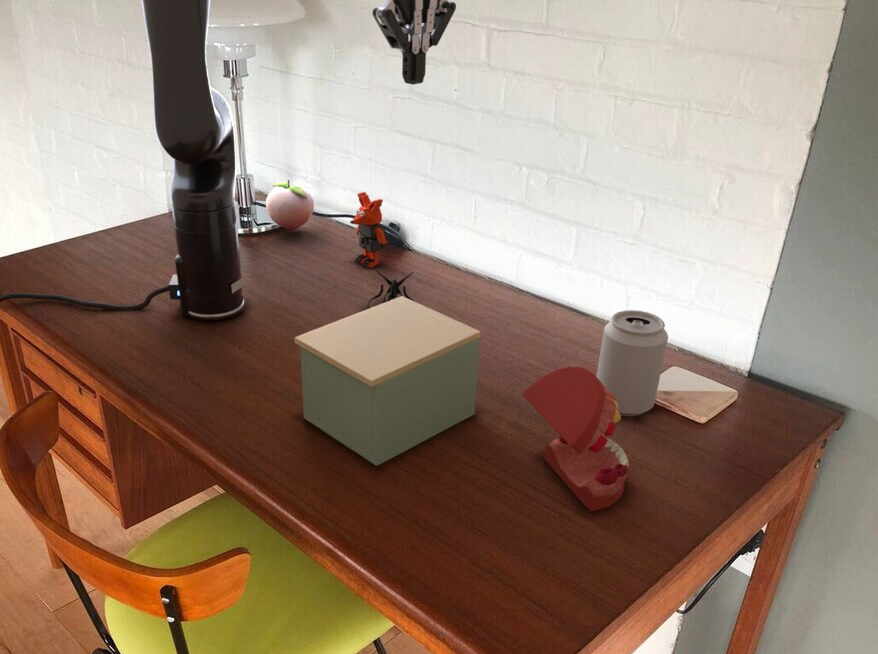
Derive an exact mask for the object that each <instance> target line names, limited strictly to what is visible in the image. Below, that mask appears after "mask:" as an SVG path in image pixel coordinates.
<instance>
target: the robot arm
mask: <svg viewBox="0 0 878 654" xmlns="http://www.w3.org/2000/svg"><path fill="white" fill-rule="evenodd" d="M140 2H141V7H142V14H143V20H144V25H145V31H146V38H147V42H148V47H149V54H150V62H151V63H150V64H151V76H152V77H151V79H152V96H153V97H152V98H153V99H152V100H153V121H154V122H153V123H154V128H155V129H154V130H155V134H156V138H157V139H158V140H157V141H158V142H159V144H160V146H161V148H162V149H163V151H164V152H165V154H167V155H168V157H170V158H171V159H173V171H172V178H171V182H170V185H169V195H170V203H171V209H172V211H171V212H172V220H173V225H174V235H175V242H176V252H177V254H176V256H175V260H174V263H175V270H176V274H172V276H171V278H170V281H169V283H168V285H165V286H163V287H162V286H161V287H159V288H157V289H155V290H153V291H151V292H150V293H148V294H147V296H146V297H145V300H144V301H143V302H140V303H137V304H130V305H120V304H112V303H106V302H105V303H104V302H97V301H87V300H82V299H77V298H74V297H72V296H71V297H70V296H67V295H63V294H62V295H61V294H51V293H50V294H49V293H48V294H47V293H44V294H43V293H32V292H12V293H11V292H10V293H6V294H3V295H0V303H2V302H4V301H7V300H13V299H31V300H32V299H34V300H47V301H49V300H50V301H51V300H52V301H61V302H66V303H70V304H74V305H77V306H81V307H87V308H94V309H95V308H96V309H102V310H103V309H104V310H109V311H132V310H134V311H135V310H141V309H143V308H146V307H147V306H149V305H150V303H151V302H152V301H153V298H155V297H156V296H159V295H161V294H164V293H167V292H169V299H170V300H171V301H173V300H177V301H179V302H180V310H181V317H182V318H191V319H193V320H197V321H204V322H215V321H223V320H228V319H230V318H233V317H236V316H238V315H239V314H241V313H242V312H243V311H244V309H245V298H244V292H243V291H244V290H243V287H244V285H243V284H244V283H243V276H242V267H241V257H240V256H241V255H240V244H239V231H238V221H237V219H238V218H237V208H236V207H237V206H236V195H235V187H236V186H235V185H236V181H237V179H236V178H237V163H236V162H237V161H236V159H237V158H236V143H235V128H234V127H235V126H234V120H233V115H232V111H231V108H230V105H229V104H228V102H227V100H226V99H225V98H224V97H223V96H222V95H221V94H220V92H219V91H217V90H215V89H214V88H212V87H211V85H210V80H209V73H208V66H207V65H208V64H207V38H208V37H207V36H208V27H209V18H210V9H211V8H210V7H211V0H140ZM456 10H457V5H456V2H454V1H449V0H385V1H384V3H383V4H382V5H381V6H380V7H374V8H373V10H372V13H371V14H372V17H373V19H374V20H375V21H374V22H375V23H376V24H377V26H378V28H379V30H380V32H381V34H382V35H383V36H384V39H385V40H386V41H387V44H388V45H389V47H390V48H391V49H394V50H395V49H396V50H398V51H400V52H401V55H402V64H401V67H402V69H401V75H402V79H403V82H404V83H405V84H409V85H419V84H422V83H424V78H425V76H426V67H427V66H426V64H427V63H426V62H427V53H428V51H429V49H430V48H431V47H436V46H438V45H439V43H440V42H441V39H442V37H443V35H444V33H445V31H446V29H447V27H448V25H449V23H450V21H451V19H452V17H453V16H454V14H455V11H456Z"/></svg>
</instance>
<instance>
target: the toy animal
mask: <svg viewBox="0 0 878 654" xmlns="http://www.w3.org/2000/svg"><path fill="white" fill-rule="evenodd" d="M357 198H358V201H359V204H360V207H359V208H358V209H357V210H356V214H355V217H353V218H352V220H350V222H349V223H350V224H351V225H356V226H357V227H356V228H355V232H356V234H357V236H358V246H359V247H360V248H362V249H363V253H362V254H358V255H357V257H355V258H356V259H354V263H356V264H358V265H359V264H361V267H363V268H374V267H375V266H377V265H379V264H380V257H379V252H381V251H382V250H383V248H384V247H386V244H387V239H386V237H385V234H384V225H383V224H382V221H383V214H382V210H381V207H382V205H383V202H384V200H383V198H378V199H374V200H371V198H370V196H369V194H367V193H366V191H361V192H358V193H357Z"/></svg>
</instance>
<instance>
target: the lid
mask: <svg viewBox="0 0 878 654" xmlns="http://www.w3.org/2000/svg"><path fill="white" fill-rule="evenodd" d="M414 301H415V300H414ZM414 301H412V300H410V299H408V298H406V297H405V296H403V295H402V296H401V295H400V296H397V298H395V299H391V300H390V301H388V300H387V301H385V302H384V303H383V302H382V303H379V304H377V305H374V306H372V307H369V308H370V309H369V308H368V309H364V310H362V311H359V312H356V313H354V314H351V315H349V316H347V317H344V318H341V319H339V320H336V321H334V322H331V323H328V324H325V325H323V326H320V327H318V328H316V329H312V330H310V331H308V332H305V333H302V334H300V335H297V336H295V337H294V344H296V345H297V346H299V347H300V346H301V347H303V348H304V349H306V350H308V351H310V352H311V353H313V354H315V355H317V356H318V357H320V358H322V359H324V360H325V361H327V362H329V363H331V364H332V365H334V366H336V367H338V368H339V369H341V370H343V371H345V372H346V373H348V374H350V375H352V376H353V377H355V378H357V379H359V380H360V381H362V382H364V383H366V384H367V385H369V386H371V387H373V386H375V385H377V384H379V383H381V382H383V381H386V380H388V379H390V378H392V377H394V376H397V375H399V374H401V373H403V372H405V371H407V370H410V369H412V368H414V367H416V366H418V365H421V364H423V363H425V362H427V361H429V360H431V359H434V358H436V357H438V356H440V355H442V354H445V353H447V352H449V351H451V350H453V349H455V348H458V347H460V346H462V345H464V344H466V343H469V342H471V341H473V340H475V339H477V338H480V339H481V335H482V334H481V333H482V332H481V331H480V330H478V329H477V328H474V327H472V326H470V325H468V324H465V323H463V322H461V321H458V320H456V319H454V318H452V317H449V316H447V315H445V314H443V313H441V312H438V311H436V310H434V309H432V308H429V307H428V306H425V305H422V304H421V303H419V302H416V301H415V302H414Z"/></svg>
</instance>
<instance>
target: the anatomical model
mask: <svg viewBox="0 0 878 654" xmlns="http://www.w3.org/2000/svg"><path fill="white" fill-rule="evenodd" d="M522 397H523V398H524V399H525V400H526V401H527V402H528V403H529V404H530V405H531V406H532V407H533V409H535V411H537V412H538V414H539V415H540V416H541V417H542V419H544V421H546V422H547V423H548V424H549V426H551V428H553V430H554V431H556V432H557V434H558V435H559V436H558V438H555V439H554V440H552V441H551V442H549V443H548V444H546V445H545V449H544V457H543V458H544V460H545V461H546V462H547V464H548V465H549V467H551V468H552V470H553V471H554V472H555V473H556V475H557V476H558V477H559V478H560V479H561V480H562V481H563V483H564V484H565V485H566V486H567V487H568V488H569V490H571V492H572V493H573V494H574V496H576V497H577V499H579V501H580V502H581V503H582V504H583V505H584V506H585V507H586V509H588V511H589V512H590V513H592V512H597V511H599V510H603V509H606V508H608V507H610V506H612V505H614V504H615V503H616V502H618V501H619V500H620V499H621V497H622V496H623V494H624V490H625V484H626V483H625V481H626V479H627V477H628V471H629V470H628V468H629V466H630V460H629V458H627V457H628V456H627V454H626V453H625V452H624V451H625V450H624V449H623V448H622V447H621V446H620V445H618V443H616V442H615V441H613V440H612V439H610V438H608V437H609V436H613V434H614V431H615V430H616V424H615V423H618V422H620V421H621V418H622V416H620V414H619V412H618V408H619V406H618V404H617V402H616V399H615V397H614V395H613V393H611V392H610V391H608V390H607V389H606V387H605V386H603V385H602V382H601V381H600V380H599V379H598V378H597V375H596V374H595V373H593V372H592V371H591V370H589V369H587V368H585V367H582V366H566V367H562V368H558V369H555V370H553V371H551V372H549V373H546V374H545V375H543V376H542V377H540V378H538V379H537V380H536V381H534V382H533V383H532V384H531V385H530V386H529V387H527V389H525V390H524V391H523V392H522ZM606 436H607V437H606Z"/></svg>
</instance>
